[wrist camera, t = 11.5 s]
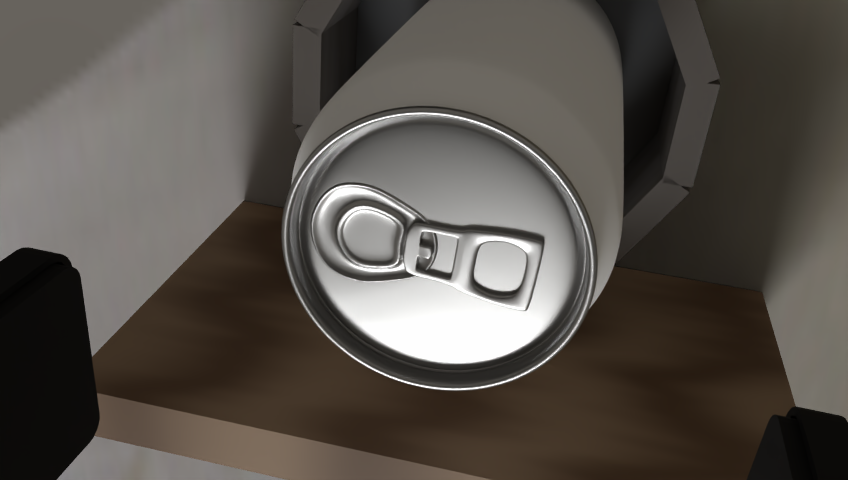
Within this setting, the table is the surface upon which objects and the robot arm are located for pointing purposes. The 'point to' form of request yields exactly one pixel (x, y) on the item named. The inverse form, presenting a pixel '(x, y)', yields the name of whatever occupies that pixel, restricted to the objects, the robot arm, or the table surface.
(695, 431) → the bracket
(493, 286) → the can
